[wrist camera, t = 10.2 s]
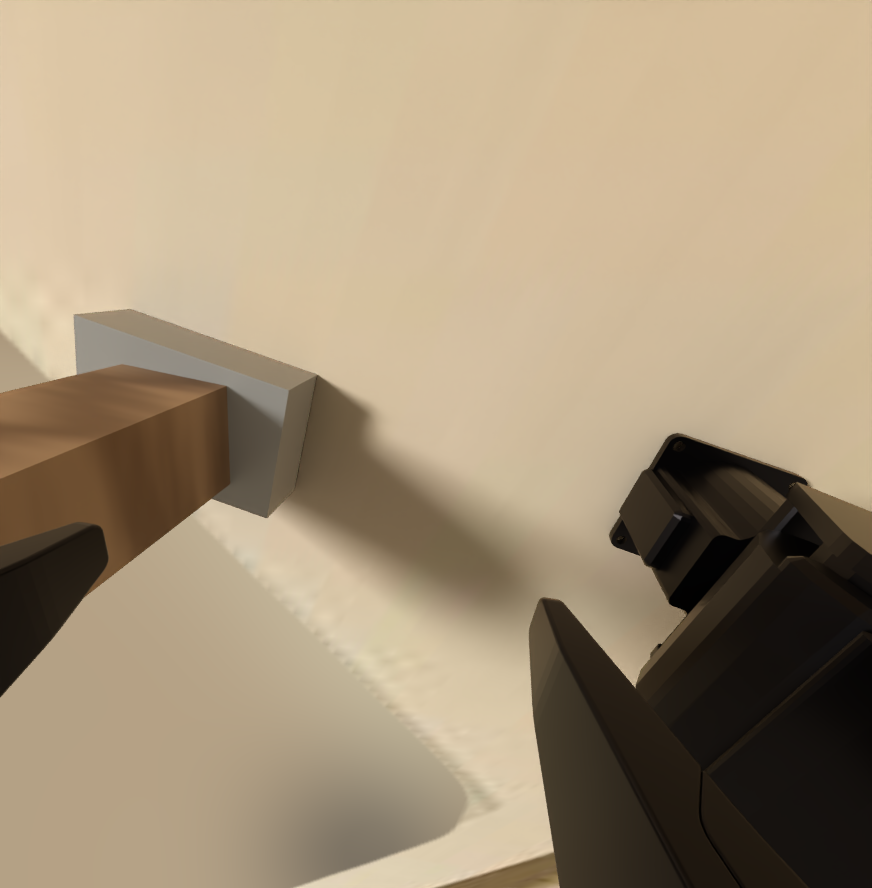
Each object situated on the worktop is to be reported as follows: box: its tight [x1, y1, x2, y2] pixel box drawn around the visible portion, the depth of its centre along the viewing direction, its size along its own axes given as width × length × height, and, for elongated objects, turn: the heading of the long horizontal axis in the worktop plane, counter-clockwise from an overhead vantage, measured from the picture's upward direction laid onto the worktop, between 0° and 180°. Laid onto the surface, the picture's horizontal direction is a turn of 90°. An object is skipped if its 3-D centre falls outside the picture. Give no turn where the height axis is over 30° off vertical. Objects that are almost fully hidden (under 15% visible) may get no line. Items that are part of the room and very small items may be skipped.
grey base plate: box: [74, 309, 317, 518], centre depth 21 cm, size 10×7×3 cm
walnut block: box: [0, 364, 230, 596], centre depth 14 cm, size 5×5×13 cm
